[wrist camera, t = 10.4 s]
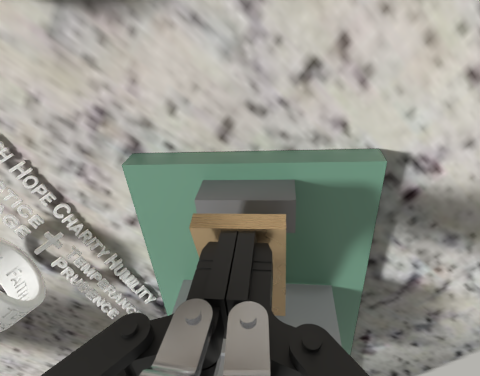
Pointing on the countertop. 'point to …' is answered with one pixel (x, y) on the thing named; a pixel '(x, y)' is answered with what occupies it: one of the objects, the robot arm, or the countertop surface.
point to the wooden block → (267, 231)
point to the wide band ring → (30, 278)
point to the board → (316, 217)
